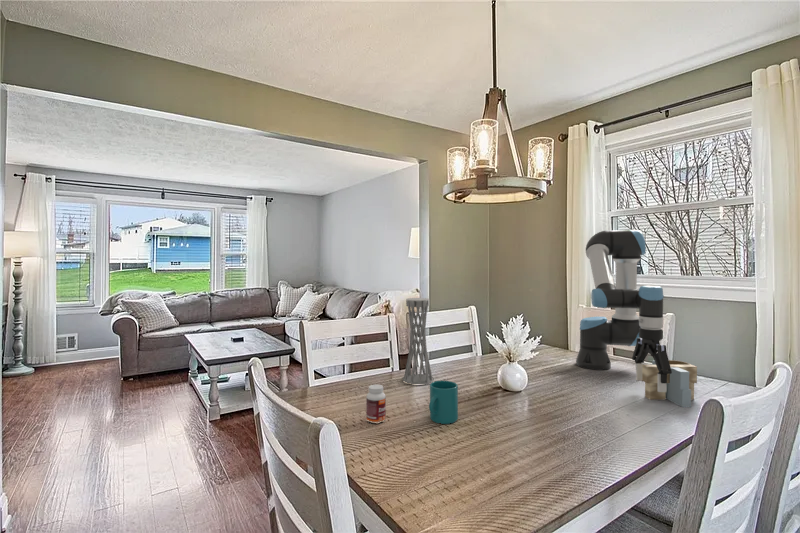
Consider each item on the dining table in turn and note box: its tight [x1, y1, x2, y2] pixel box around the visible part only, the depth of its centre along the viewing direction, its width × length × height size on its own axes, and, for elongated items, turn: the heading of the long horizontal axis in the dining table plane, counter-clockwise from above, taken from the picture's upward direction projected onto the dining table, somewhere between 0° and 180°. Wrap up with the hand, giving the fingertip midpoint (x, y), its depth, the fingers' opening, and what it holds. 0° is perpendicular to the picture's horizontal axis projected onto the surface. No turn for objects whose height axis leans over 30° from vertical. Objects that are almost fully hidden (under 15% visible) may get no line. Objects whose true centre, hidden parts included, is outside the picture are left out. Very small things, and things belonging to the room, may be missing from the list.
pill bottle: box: [365, 384, 387, 422], centre depth 129 cm, size 6×6×11 cm
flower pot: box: [669, 359, 692, 365], centre depth 165 cm, size 9×9×9 cm
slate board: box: [651, 359, 692, 408], centre depth 148 cm, size 18×3×12 cm, turn 179°
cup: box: [428, 380, 459, 425], centre depth 129 cm, size 9×12×11 cm
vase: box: [401, 297, 435, 385], centre depth 171 cm, size 14×13×35 cm
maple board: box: [641, 364, 698, 401], centre depth 148 cm, size 18×3×12 cm, turn 89°
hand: (650, 385), depth 148 cm, fingers open, 12 cm apart
